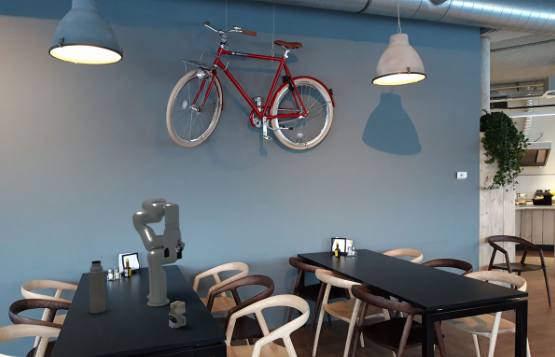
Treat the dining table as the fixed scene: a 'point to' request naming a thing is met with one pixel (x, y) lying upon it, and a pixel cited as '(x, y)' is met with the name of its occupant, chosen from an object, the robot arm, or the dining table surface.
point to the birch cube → (177, 307)
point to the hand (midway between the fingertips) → (173, 258)
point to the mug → (176, 320)
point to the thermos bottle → (97, 287)
